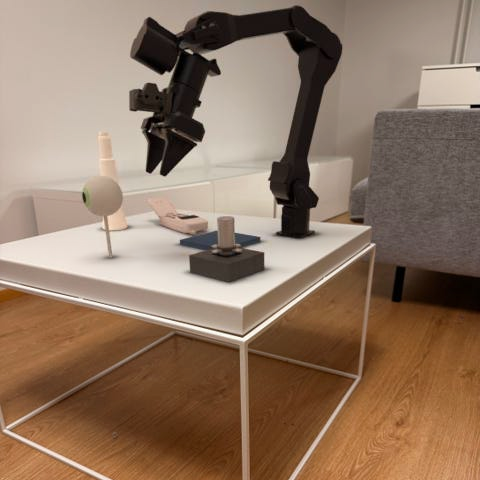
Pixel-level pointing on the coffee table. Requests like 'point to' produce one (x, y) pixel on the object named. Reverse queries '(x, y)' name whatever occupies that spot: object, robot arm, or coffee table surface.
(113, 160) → the cosmetic bottle
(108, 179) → the eyeball on stick
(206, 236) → the mat
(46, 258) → the coffee table surface
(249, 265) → the square hole block
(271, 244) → the coffee table surface
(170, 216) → the mobile phone
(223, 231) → the bolted post stand
